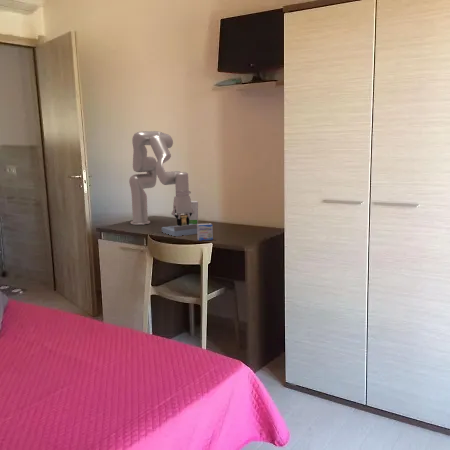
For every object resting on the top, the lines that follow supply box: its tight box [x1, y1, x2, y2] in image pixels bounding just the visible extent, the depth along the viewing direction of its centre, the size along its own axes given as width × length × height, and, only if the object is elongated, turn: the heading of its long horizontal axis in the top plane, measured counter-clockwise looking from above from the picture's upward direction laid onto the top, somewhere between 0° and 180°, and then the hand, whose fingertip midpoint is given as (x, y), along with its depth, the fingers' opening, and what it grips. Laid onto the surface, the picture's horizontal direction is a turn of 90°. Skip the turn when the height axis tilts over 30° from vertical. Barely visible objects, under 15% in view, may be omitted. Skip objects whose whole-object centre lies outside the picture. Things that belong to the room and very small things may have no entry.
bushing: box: [180, 214, 188, 226], centre depth 300 cm, size 5×5×8 cm
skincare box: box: [183, 200, 199, 224], centre depth 321 cm, size 8×7×16 cm
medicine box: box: [196, 222, 214, 242], centre depth 280 cm, size 8×4×9 cm, turn 104°
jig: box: [161, 222, 204, 237], centre depth 301 cm, size 16×20×5 cm
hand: (183, 224), depth 301 cm, fingers closed on bushing, 4 cm apart
